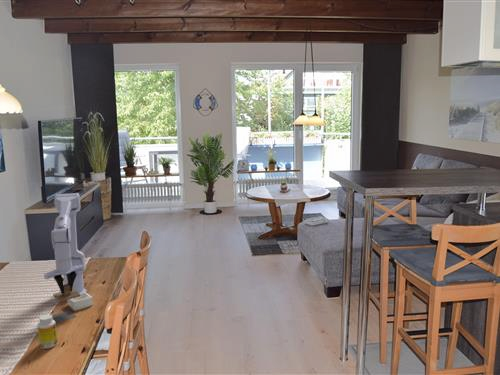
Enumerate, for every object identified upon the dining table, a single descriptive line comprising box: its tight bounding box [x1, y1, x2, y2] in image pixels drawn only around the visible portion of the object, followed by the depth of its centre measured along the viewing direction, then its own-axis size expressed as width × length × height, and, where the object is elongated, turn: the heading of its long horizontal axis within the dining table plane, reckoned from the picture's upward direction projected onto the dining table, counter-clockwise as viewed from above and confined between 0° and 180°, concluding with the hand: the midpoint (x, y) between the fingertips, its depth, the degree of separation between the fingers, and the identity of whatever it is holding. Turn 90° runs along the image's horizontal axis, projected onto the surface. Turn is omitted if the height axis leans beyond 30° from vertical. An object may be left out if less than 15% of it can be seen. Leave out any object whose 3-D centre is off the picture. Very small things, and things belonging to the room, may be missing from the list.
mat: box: [51, 310, 77, 324], centre depth 176 cm, size 8×8×1 cm
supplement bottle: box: [37, 314, 58, 349], centre depth 154 cm, size 6×6×10 cm
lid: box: [52, 284, 80, 303], centre depth 178 cm, size 8×8×4 cm
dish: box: [66, 292, 94, 312], centre depth 186 cm, size 8×8×4 cm
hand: (66, 291), depth 178 cm, fingers closed on lid, 2 cm apart
